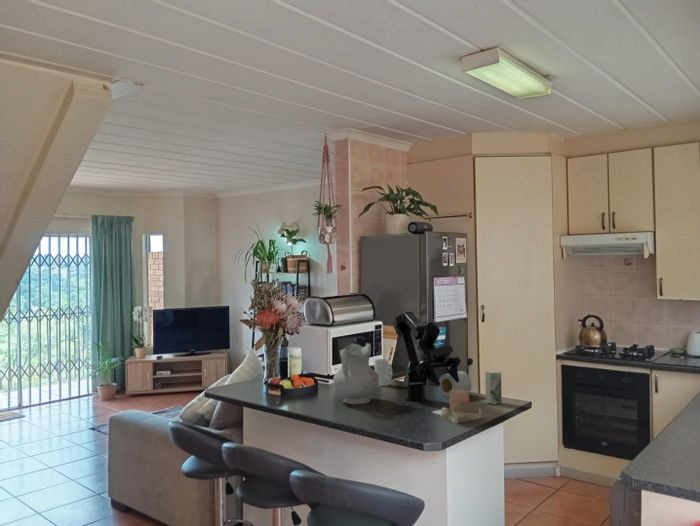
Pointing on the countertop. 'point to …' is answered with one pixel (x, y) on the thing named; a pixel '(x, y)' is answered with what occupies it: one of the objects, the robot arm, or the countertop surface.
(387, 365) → the mug
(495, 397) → the box
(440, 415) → the mat
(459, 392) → the brown rectangular block
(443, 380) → the toilet paper
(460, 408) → the cubby
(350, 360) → the ceramic pitcher
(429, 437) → the countertop surface
